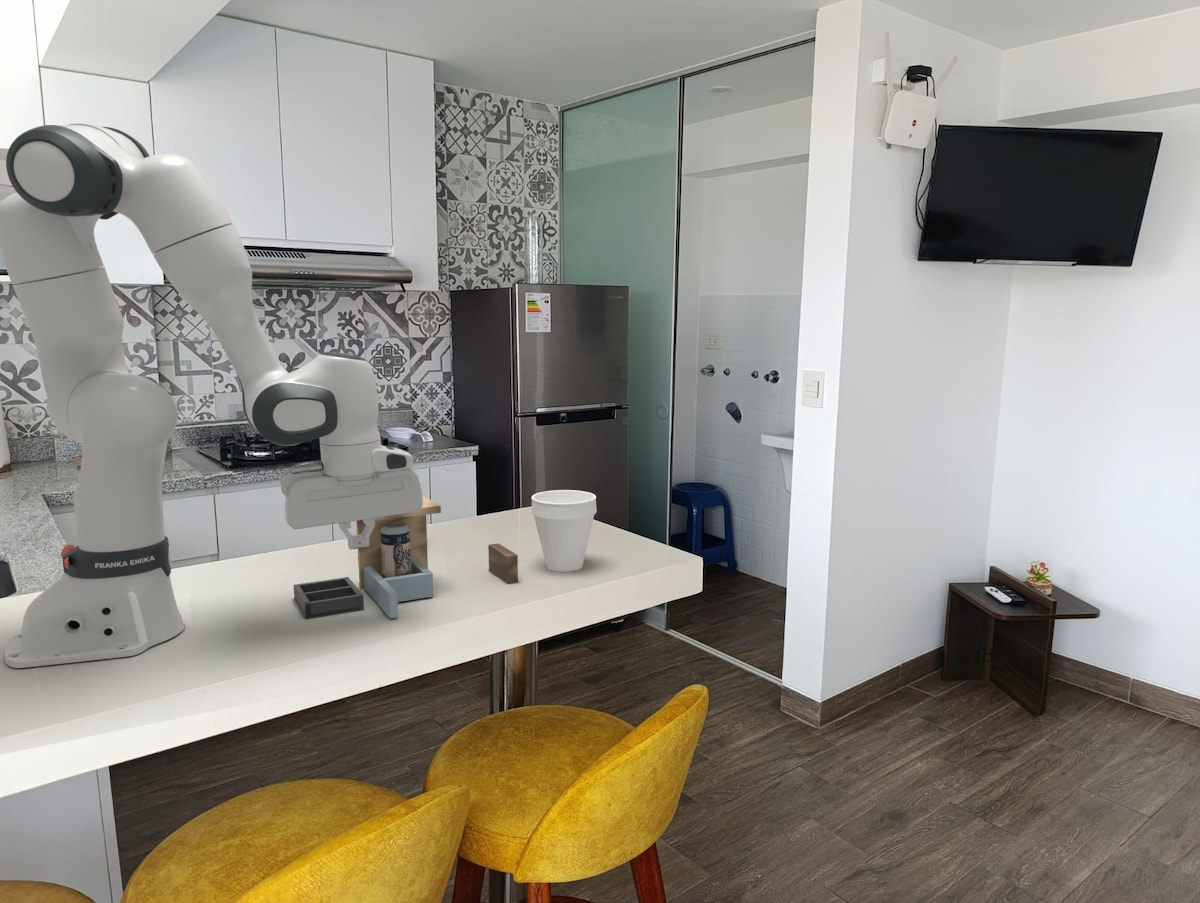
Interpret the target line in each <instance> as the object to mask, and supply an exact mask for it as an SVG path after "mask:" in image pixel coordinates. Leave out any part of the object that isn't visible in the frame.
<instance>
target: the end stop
mask: <svg viewBox="0 0 1200 903" xmlns="http://www.w3.org/2000/svg"><path fill="white" fill-rule="evenodd" d="M487 546H488V547H487V548H488V550H487V551H488V571H489V572H490V573H491V574H492V575H495V576H496V577H497V578H498V579H500V580H502V581H503V582H504V583H506V584H508V585H509V584H516V583H519V566H518V564H519V563H518V562H519V559H518V557H519V555H518V554H517V553H515V552H513V551H512V550H510V549H508V548H507V547H505V546H504V545H502V544H500V543H490V544H488V545H487Z"/></svg>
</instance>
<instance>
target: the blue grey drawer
mask: <svg viewBox="0 0 1200 903" xmlns="http://www.w3.org/2000/svg"><path fill="white" fill-rule="evenodd" d="M364 580H365V589H364V590H365V591H366V592H367V593H368V594H369V595H370V596H371V598H372V599H373V601H375V603H376V605H378V606H379V607H380V608H381V610H382V611H383V612H384V613H385V614H386V616H388V617H389V619H395V618H398V617H399V612H398V603H401V602H406V601H412V600H420V599H425V598H431V597H434V574H433V572H432V571H431V570H430V569H429V568H428V569H427V568H426V567H425V566H423V565H422V564H421V563H420V562H419V561H418V560H411V574H410V575H404V576H397V577H390V578H382V577H381V576H380V575H379V574H378V573H377V572H376V571H375V569H374V568H373V567H372V566H366V567H364Z"/></svg>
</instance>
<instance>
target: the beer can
mask: <svg viewBox="0 0 1200 903" xmlns="http://www.w3.org/2000/svg"><path fill="white" fill-rule="evenodd" d="M381 552H382V576H383V578H390V577H397V576H404V575H410V574H411V558H410V530H409V528H408V527H407V524H406V523H401V522H392V523H387V524H385V525H383V527H382V529H381Z"/></svg>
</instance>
